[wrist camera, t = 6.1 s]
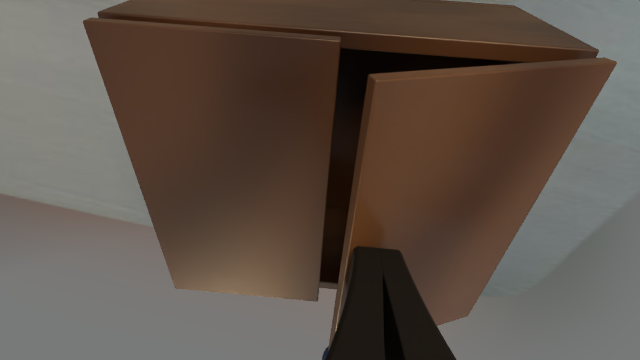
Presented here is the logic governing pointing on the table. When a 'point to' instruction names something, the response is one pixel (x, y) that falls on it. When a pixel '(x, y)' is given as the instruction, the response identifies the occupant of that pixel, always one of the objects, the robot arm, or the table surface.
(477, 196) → the box lid
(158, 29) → the wooden cabinet
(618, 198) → the table surface
